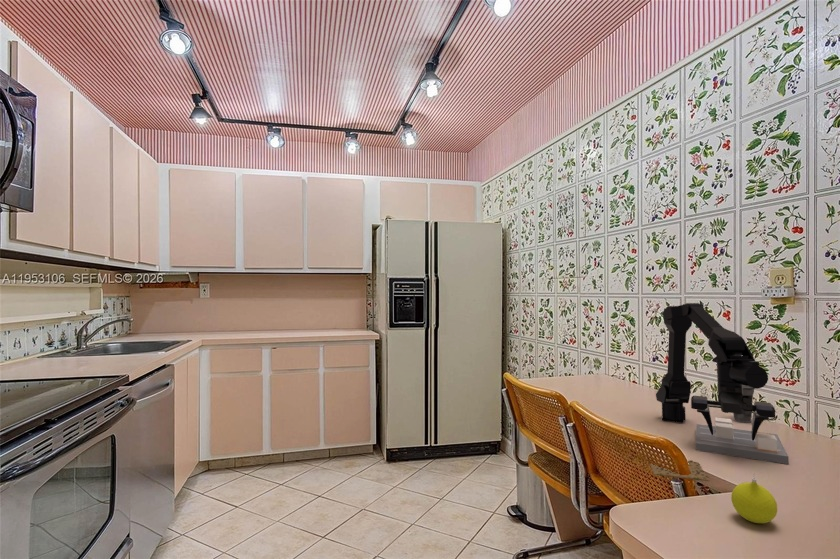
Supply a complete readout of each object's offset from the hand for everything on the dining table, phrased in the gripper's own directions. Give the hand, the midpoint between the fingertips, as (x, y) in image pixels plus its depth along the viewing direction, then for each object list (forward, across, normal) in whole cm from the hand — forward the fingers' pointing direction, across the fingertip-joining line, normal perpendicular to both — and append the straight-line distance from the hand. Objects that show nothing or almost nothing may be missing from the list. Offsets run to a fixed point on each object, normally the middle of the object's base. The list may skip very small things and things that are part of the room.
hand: (732, 437), depth 120 cm
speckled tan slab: (+4, -12, -21) cm, 25 cm away
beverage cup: (+4, +4, +35) cm, 36 cm away
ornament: (+4, +2, -42) cm, 42 cm away
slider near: (+2, +7, 0) cm, 8 cm away
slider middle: (+2, -2, +6) cm, 6 cm away
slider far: (+2, -2, +12) cm, 12 cm away
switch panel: (+4, +1, +6) cm, 7 cm away
